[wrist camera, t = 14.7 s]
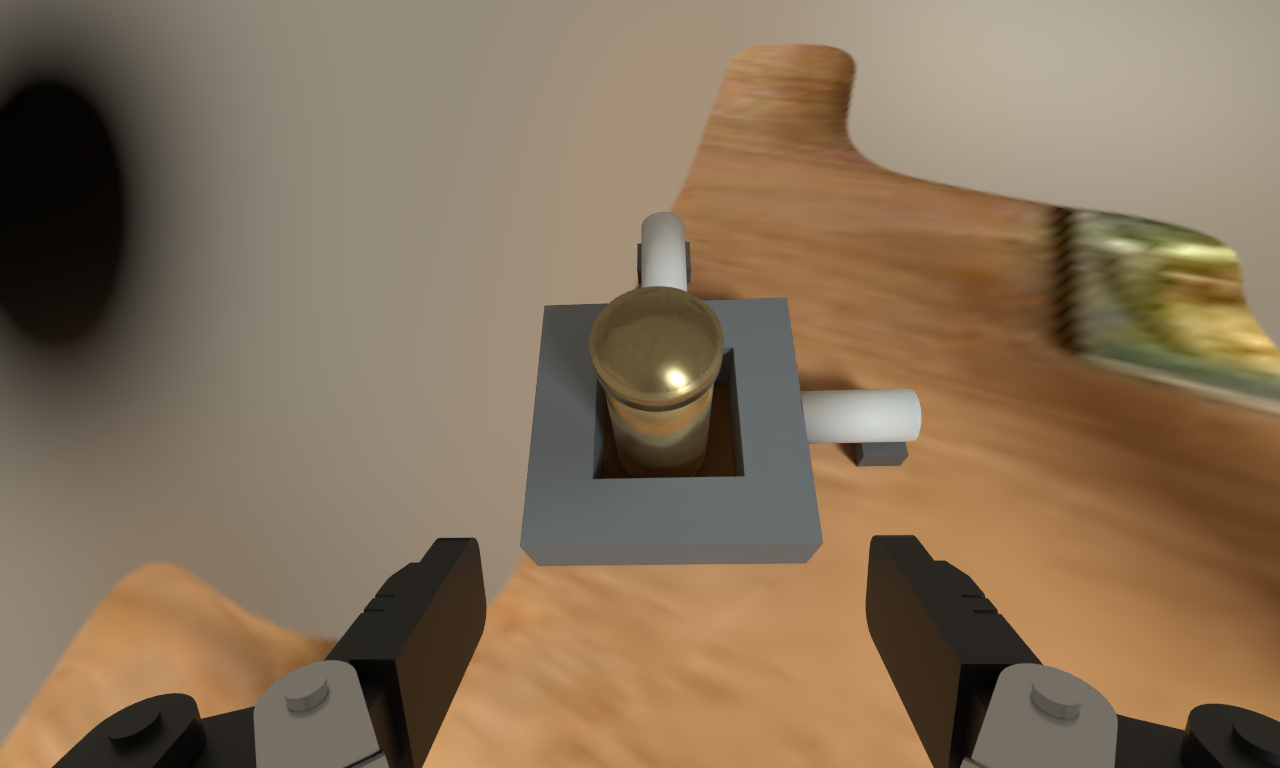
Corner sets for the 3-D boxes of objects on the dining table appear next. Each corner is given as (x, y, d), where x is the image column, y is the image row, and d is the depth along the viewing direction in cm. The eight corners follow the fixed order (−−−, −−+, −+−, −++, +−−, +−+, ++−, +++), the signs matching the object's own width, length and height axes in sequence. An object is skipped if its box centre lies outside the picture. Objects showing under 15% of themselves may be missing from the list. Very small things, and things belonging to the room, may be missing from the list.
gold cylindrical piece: (707, 401, 30) (719, 283, 22) (713, 490, 28) (728, 396, 20) (615, 403, 31) (592, 288, 22) (612, 492, 28) (585, 400, 20)
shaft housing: (850, 249, 35) (867, 203, 32) (921, 562, 26) (954, 540, 23) (564, 260, 36) (553, 216, 32) (538, 565, 27) (519, 545, 24)
